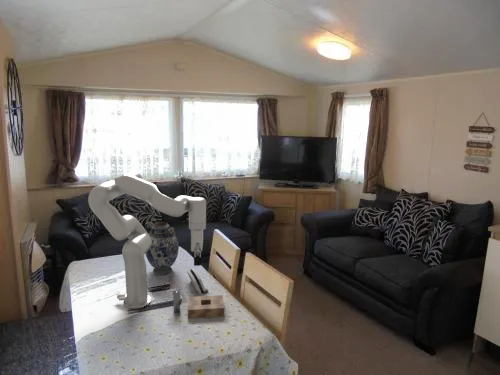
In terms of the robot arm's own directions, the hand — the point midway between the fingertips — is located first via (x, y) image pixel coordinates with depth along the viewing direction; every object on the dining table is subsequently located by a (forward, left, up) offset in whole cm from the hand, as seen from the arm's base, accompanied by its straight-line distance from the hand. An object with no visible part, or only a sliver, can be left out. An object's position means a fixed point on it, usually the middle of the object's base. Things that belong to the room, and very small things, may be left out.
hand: (197, 261), depth 174 cm
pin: (-9, -4, -22) cm, 25 cm away
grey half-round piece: (0, +21, -23) cm, 31 cm away
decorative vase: (-20, +42, -23) cm, 52 cm away
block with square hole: (+4, -4, -22) cm, 23 cm away
